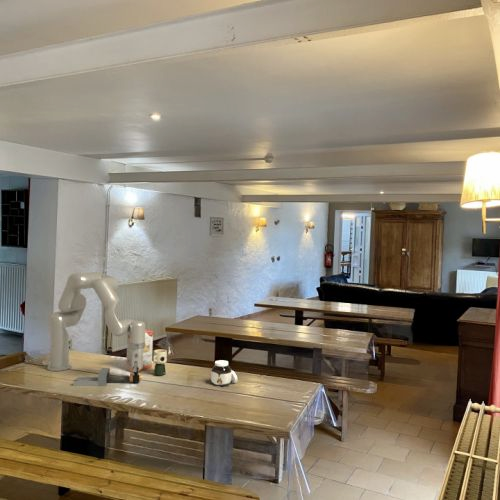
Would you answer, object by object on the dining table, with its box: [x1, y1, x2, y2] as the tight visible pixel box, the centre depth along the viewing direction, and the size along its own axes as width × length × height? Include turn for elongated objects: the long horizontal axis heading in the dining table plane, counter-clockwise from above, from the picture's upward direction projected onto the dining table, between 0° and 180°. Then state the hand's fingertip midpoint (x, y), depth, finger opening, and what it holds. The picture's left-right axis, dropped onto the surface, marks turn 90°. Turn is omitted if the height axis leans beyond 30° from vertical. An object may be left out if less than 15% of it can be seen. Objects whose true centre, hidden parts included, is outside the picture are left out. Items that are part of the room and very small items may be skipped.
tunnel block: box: [72, 367, 111, 387], centre depth 246 cm, size 16×10×6 cm, turn 96°
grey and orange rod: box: [107, 372, 144, 383], centre depth 248 cm, size 19×4×4 cm, turn 96°
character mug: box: [152, 349, 168, 376], centre depth 262 cm, size 11×7×13 cm, turn 152°
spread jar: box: [210, 359, 239, 387], centre depth 249 cm, size 12×11×12 cm
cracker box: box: [125, 329, 154, 373], centre depth 272 cm, size 14×6×21 cm, turn 143°
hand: (136, 380), depth 248 cm, fingers closed on grey and orange rod, 4 cm apart
